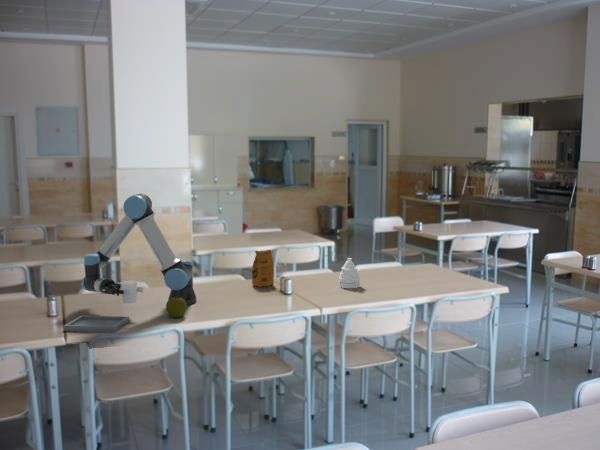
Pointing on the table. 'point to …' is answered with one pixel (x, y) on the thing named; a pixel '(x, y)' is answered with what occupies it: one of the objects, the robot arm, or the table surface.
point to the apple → (176, 307)
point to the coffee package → (263, 269)
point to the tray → (96, 323)
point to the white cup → (133, 291)
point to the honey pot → (349, 275)
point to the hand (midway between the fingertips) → (135, 291)
